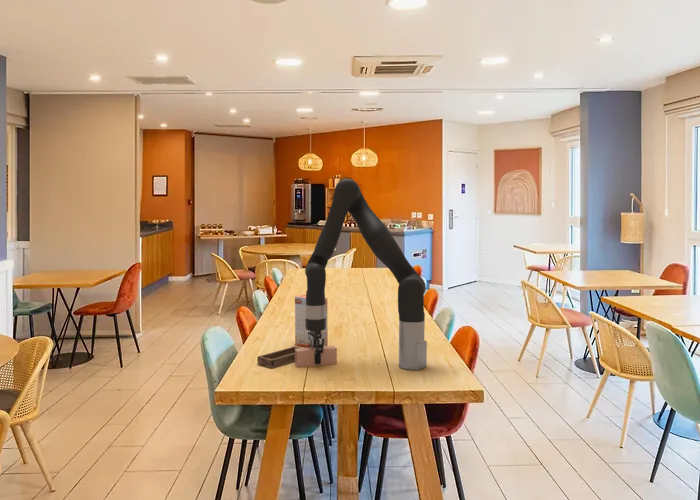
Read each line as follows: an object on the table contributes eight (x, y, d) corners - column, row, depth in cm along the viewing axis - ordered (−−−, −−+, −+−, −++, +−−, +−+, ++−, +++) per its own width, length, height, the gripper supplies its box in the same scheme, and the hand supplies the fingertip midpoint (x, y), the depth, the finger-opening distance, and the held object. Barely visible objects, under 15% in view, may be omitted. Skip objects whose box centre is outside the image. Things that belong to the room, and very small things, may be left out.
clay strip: (334, 361, 219) (333, 345, 219) (336, 364, 215) (336, 348, 215) (295, 364, 215) (294, 348, 214) (297, 367, 211) (297, 351, 210)
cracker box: (328, 348, 238) (328, 297, 236) (317, 350, 233) (317, 299, 231) (305, 342, 247) (304, 293, 245) (294, 344, 243) (294, 295, 241)
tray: (309, 357, 224) (309, 349, 223) (272, 368, 209) (272, 360, 209) (294, 353, 229) (294, 346, 229) (257, 364, 215) (257, 356, 214)
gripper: (331, 319, 208) (331, 366, 210) (319, 312, 221) (320, 356, 223) (310, 321, 206) (311, 368, 207) (300, 313, 219) (301, 358, 221)
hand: (315, 361), depth 215 cm, fingers closed on clay strip, 4 cm apart
